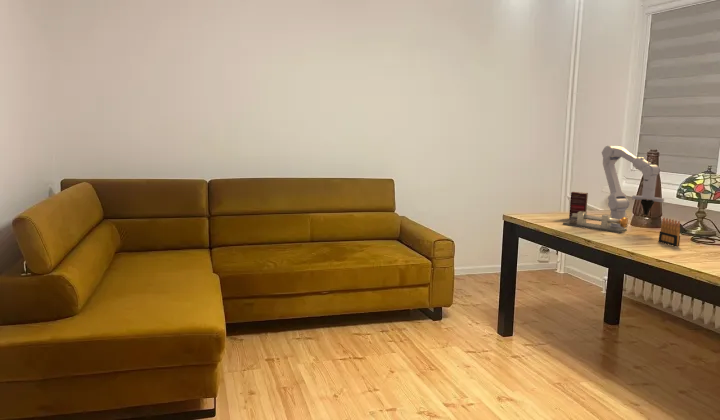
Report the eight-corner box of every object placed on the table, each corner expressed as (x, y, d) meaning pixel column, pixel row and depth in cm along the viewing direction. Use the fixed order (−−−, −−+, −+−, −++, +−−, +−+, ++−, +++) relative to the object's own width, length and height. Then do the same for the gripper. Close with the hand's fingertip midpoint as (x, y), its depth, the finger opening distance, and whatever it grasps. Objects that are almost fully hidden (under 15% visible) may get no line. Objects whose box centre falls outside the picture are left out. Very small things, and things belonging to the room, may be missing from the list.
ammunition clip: (679, 246, 254) (682, 221, 252) (676, 246, 254) (679, 221, 252) (661, 241, 264) (664, 216, 262) (658, 241, 264) (661, 217, 262)
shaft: (574, 219, 305) (575, 210, 304) (627, 226, 286) (628, 217, 285) (570, 220, 302) (571, 211, 301) (623, 228, 282) (624, 218, 282)
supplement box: (585, 220, 318) (588, 192, 315) (584, 221, 314) (586, 193, 311) (570, 218, 322) (572, 191, 320) (568, 219, 318) (570, 192, 316)
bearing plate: (570, 222, 309) (571, 209, 308) (626, 230, 289) (628, 216, 288) (562, 224, 302) (564, 210, 301) (619, 233, 282) (621, 218, 280)
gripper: (631, 187, 283) (628, 213, 285) (662, 190, 273) (659, 217, 275) (636, 186, 288) (633, 212, 290) (666, 189, 278) (663, 215, 280)
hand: (646, 214), depth 283 cm, fingers closed
